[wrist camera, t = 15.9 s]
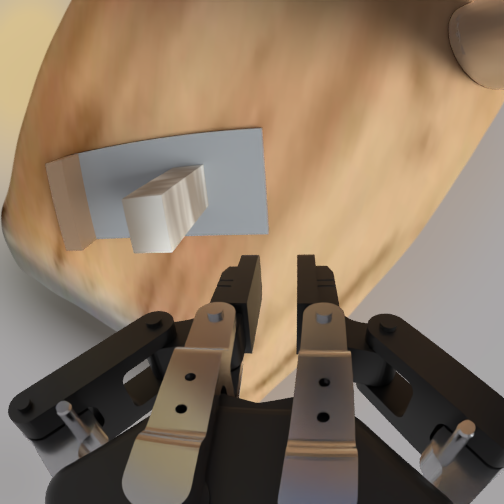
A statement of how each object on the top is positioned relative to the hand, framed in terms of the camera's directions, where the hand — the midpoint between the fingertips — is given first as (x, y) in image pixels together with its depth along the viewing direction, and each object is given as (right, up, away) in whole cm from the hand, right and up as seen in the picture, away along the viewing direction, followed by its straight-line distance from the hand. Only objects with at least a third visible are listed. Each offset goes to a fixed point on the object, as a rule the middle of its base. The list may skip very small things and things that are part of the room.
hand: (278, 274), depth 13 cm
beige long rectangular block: (-7, +7, +16) cm, 19 cm away
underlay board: (-11, +7, +17) cm, 21 cm away
